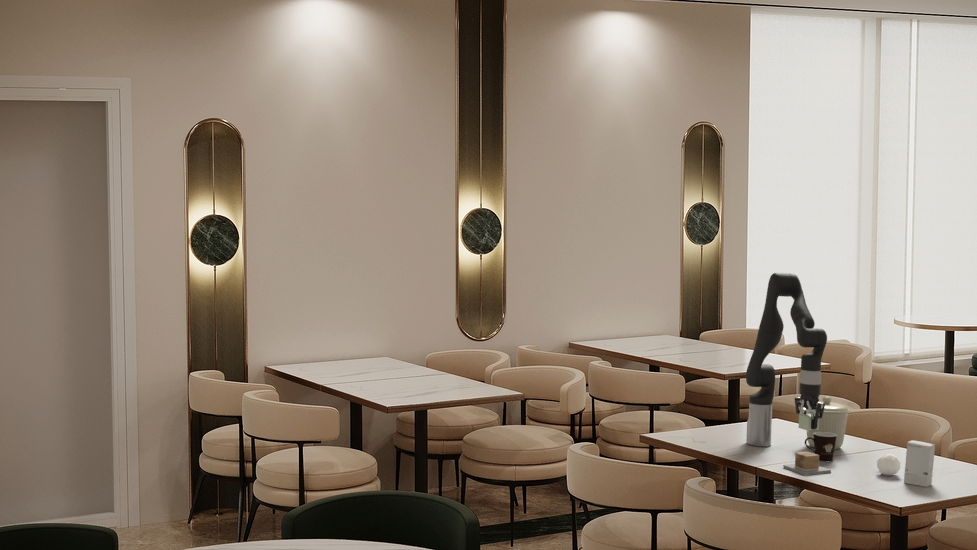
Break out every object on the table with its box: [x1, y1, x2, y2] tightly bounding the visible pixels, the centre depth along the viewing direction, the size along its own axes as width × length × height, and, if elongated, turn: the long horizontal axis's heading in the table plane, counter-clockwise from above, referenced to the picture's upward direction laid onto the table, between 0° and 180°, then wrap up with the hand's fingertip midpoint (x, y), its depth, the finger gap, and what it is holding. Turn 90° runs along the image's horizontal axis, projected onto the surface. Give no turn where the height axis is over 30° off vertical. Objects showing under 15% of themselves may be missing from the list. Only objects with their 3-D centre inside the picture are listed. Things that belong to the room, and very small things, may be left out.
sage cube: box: [798, 414, 819, 431], centre depth 375 cm, size 5×5×5 cm
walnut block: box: [794, 451, 820, 470], centre depth 376 cm, size 6×6×5 cm
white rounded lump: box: [876, 453, 901, 477], centre depth 373 cm, size 8×8×12 cm
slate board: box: [782, 463, 832, 476], centre depth 376 cm, size 12×12×1 cm
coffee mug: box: [804, 432, 837, 463], centre depth 394 cm, size 12×9×10 cm
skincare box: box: [903, 440, 936, 488], centre depth 359 cm, size 8×6×15 cm
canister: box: [806, 396, 851, 451], centre depth 415 cm, size 18×18×21 cm
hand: (808, 427), depth 375 cm, fingers closed on sage cube, 5 cm apart
